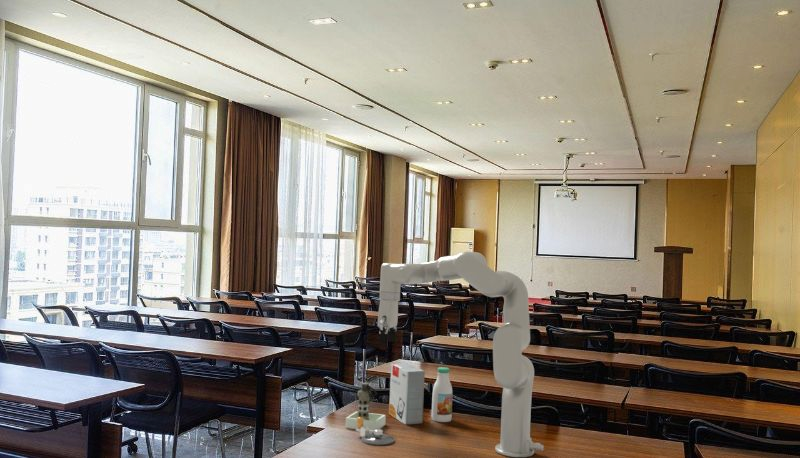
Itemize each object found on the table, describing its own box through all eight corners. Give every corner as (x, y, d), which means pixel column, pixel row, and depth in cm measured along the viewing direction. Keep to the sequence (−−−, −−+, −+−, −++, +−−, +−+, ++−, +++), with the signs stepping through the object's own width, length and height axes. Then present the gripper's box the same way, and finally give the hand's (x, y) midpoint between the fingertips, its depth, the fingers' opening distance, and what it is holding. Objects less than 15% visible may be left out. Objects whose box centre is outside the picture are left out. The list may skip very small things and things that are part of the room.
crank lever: (384, 436, 226) (385, 421, 226) (379, 438, 223) (379, 423, 223) (359, 430, 231) (360, 416, 231) (354, 432, 228) (355, 418, 229)
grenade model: (373, 427, 239) (375, 385, 239) (354, 426, 240) (356, 384, 241) (377, 423, 245) (379, 382, 245) (359, 421, 246) (360, 380, 247)
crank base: (398, 438, 229) (398, 426, 229) (387, 447, 218) (388, 434, 218) (366, 434, 232) (367, 422, 232) (355, 442, 222) (355, 430, 222)
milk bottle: (429, 421, 254) (431, 368, 255) (434, 416, 261) (436, 365, 262) (448, 423, 252) (451, 370, 252) (453, 419, 259) (455, 367, 260)
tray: (385, 424, 246) (385, 415, 246) (375, 431, 236) (376, 421, 236) (355, 421, 249) (356, 411, 249) (345, 427, 239) (345, 417, 239)
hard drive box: (388, 414, 261) (390, 363, 262) (405, 413, 264) (407, 363, 265) (405, 425, 247) (407, 371, 248) (423, 423, 250) (425, 370, 251)
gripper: (387, 294, 254) (385, 339, 254) (372, 297, 238) (369, 345, 237) (406, 296, 252) (404, 341, 252) (392, 298, 236) (389, 347, 235)
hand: (387, 343), depth 245 cm, fingers open, 9 cm apart
